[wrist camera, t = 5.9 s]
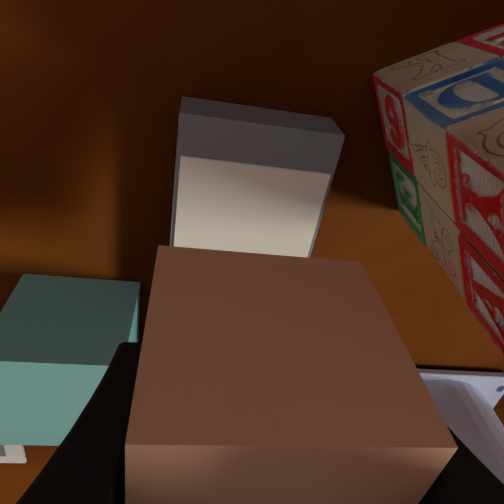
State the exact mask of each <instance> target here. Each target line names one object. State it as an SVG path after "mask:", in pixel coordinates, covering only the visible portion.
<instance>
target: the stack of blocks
mask: <svg viewBox="0 0 504 504" xmlns="http://www.w3.org/2000/svg"><path fill="white" fill-rule="evenodd" d="M373 82H374V87H375V92H376V98H377V103H378V108H379V114H380V119H381V124H382V129H383V135H384V139H385V145H386V147H387V149H388V154H389V159H390V165H391V170H392V176H393V182H394V187H395V192H396V198H397V204H398V209H399V211H400V213H401V214H402V216H403V217H404V219H405V220H406V221H407V223H408V224H409V226H410V227H411V228H412V229H413V231H414V232H415V233H416V235H417V236H418V237H419V239H420V240H421V241H422V243H423V244H424V245H425V246H426V247H428V249H429V251H430V252H431V254H432V255H433V256H434V258H435V259H436V261H437V262H438V263H439V265H440V266H441V268H442V269H443V271H444V272H445V273H446V275H447V276H448V277H449V279H450V280H451V282H452V283H453V284H454V286H455V287H456V288H457V290H458V291H459V293H460V294H461V295H462V297H463V298H465V299H466V302H467V304H468V306H469V308H470V309H471V311H472V312H473V314H474V315H475V317H476V318H477V319H478V321H479V322H480V324H481V325H482V326H483V327H484V328H485V330H486V331H487V332H488V333H489V335H490V337H491V338H492V340H493V341H494V343H495V344H496V345H497V347H498V348H500V349H501V351H502V352H503V354H504V23H502V24H499V25H496V26H494V27H491V28H488V29H486V30H483V31H481V32H478V33H476V34H473V35H470V36H468V37H465V38H463V39H460V40H457V41H456V42H452V43H448V44H445V45H442V46H440V47H437V48H435V49H432V50H429V51H427V52H424V53H421V54H419V55H416V56H414V57H411V58H408V59H406V60H403V61H401V62H398V63H395V64H393V65H390V66H388V67H385V68H382V69H380V70H377V71H376V72H374V73H373Z"/></svg>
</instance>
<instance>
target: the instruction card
mask: <svg viewBox="0 0 504 504" xmlns="http://www.w3.org/2000/svg"><path fill="white" fill-rule="evenodd" d="M26 461H27V460H26V456H25V451H24V446H23V445H0V463H26Z"/></svg>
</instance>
